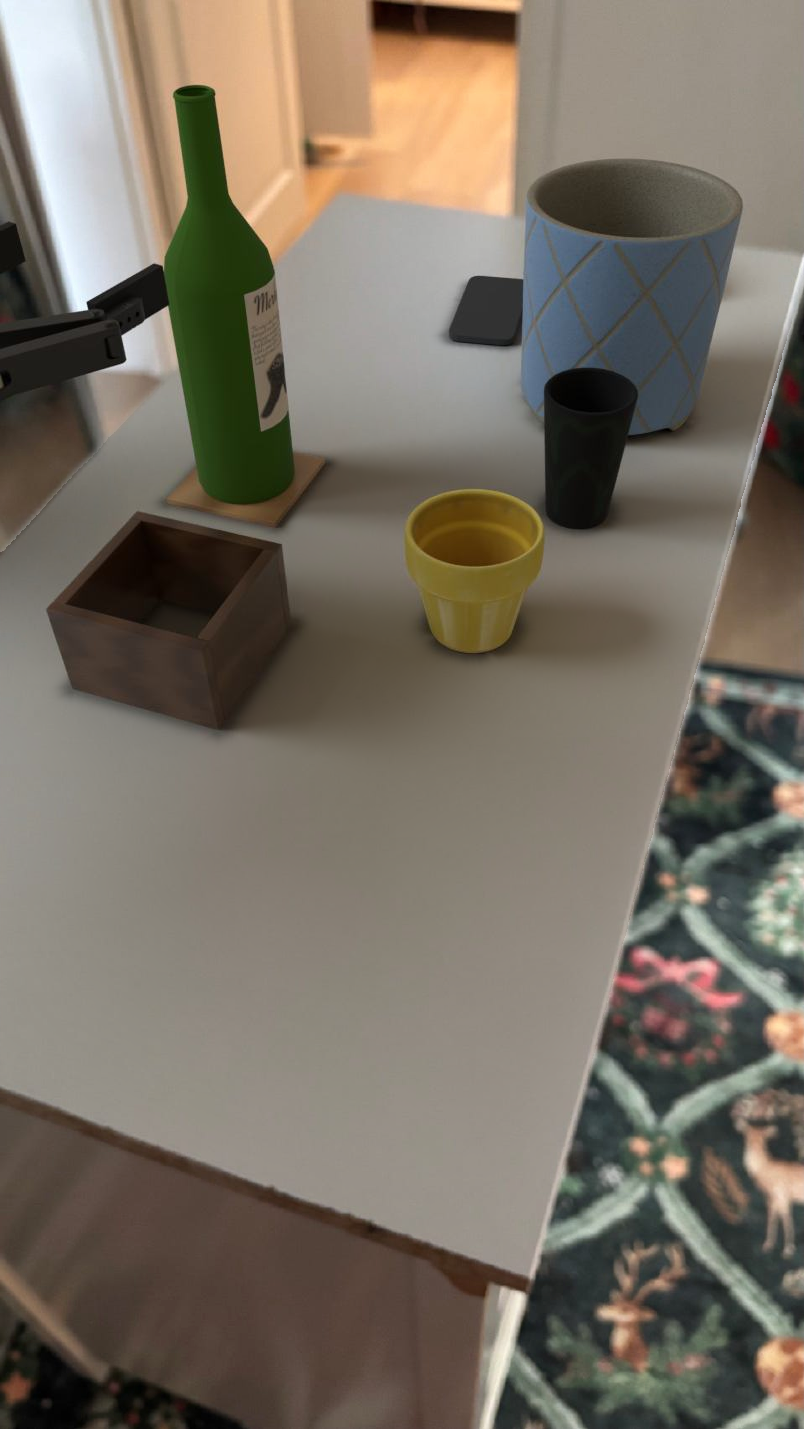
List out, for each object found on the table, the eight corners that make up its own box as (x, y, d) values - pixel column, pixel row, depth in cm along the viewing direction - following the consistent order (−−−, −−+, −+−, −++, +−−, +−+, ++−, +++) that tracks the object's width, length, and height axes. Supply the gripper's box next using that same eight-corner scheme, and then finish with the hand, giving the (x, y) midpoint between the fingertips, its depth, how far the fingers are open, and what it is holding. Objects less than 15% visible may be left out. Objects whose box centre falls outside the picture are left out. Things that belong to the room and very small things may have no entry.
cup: (618, 540, 94) (637, 417, 85) (530, 533, 95) (541, 411, 86) (620, 490, 99) (638, 369, 91) (537, 483, 100) (547, 364, 92)
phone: (446, 334, 119) (470, 274, 129) (446, 341, 119) (470, 281, 129) (513, 340, 118) (532, 279, 128) (512, 347, 118) (531, 286, 128)
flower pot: (441, 571, 91) (442, 473, 84) (555, 606, 88) (566, 507, 81) (383, 645, 85) (379, 545, 78) (503, 686, 82) (511, 586, 75)
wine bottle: (278, 511, 97) (231, 115, 73) (185, 499, 98) (109, 107, 75) (307, 457, 103) (272, 75, 79) (218, 446, 104) (159, 68, 81)
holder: (71, 689, 82) (45, 609, 77) (155, 589, 90) (136, 510, 85) (218, 730, 79) (202, 650, 73) (291, 623, 87) (282, 543, 81)
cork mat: (167, 503, 99) (166, 498, 99) (223, 442, 106) (222, 437, 106) (275, 528, 96) (275, 522, 96) (325, 463, 103) (325, 457, 103)
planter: (522, 452, 104) (537, 243, 90) (506, 355, 117) (517, 160, 103) (720, 447, 104) (767, 238, 89) (681, 351, 117) (717, 155, 103)
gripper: (-269, 399, 70) (-23, 275, 83) (4, 517, 61) (235, 357, 73) (-326, 287, 65) (-54, 172, 77) (-36, 397, 56) (220, 246, 68)
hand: (87, 262), depth 75 cm, fingers open, 13 cm apart
